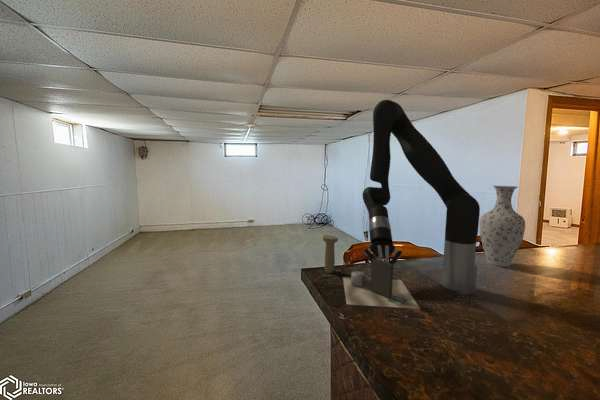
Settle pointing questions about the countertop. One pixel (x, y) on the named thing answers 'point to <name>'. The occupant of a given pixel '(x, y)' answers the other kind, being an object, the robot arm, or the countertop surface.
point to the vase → (501, 229)
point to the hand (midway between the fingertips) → (385, 277)
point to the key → (377, 279)
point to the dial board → (378, 296)
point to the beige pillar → (329, 253)
